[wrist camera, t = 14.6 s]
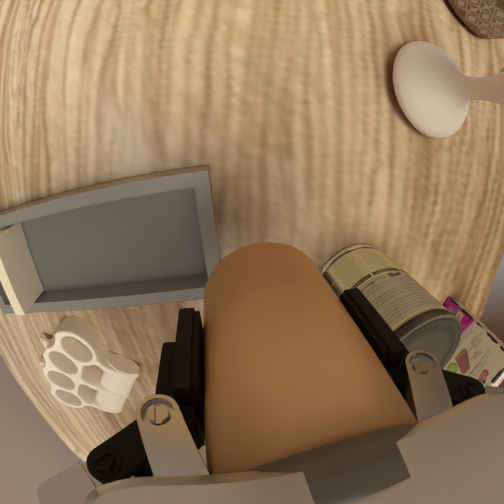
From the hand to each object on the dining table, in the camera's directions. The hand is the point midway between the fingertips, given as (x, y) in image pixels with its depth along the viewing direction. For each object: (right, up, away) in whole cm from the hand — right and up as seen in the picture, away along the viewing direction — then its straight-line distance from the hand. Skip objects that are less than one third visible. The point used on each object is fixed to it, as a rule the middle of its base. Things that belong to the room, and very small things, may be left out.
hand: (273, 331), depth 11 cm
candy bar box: (+30, -9, +28) cm, 42 cm away
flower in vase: (+17, +21, +12) cm, 30 cm away
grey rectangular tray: (-18, +4, +15) cm, 24 cm away
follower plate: (-27, +2, +12) cm, 30 cm away
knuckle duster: (-25, -13, +22) cm, 35 cm away
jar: (0, +1, +2) cm, 2 cm away
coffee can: (+11, 0, +21) cm, 24 cm away
